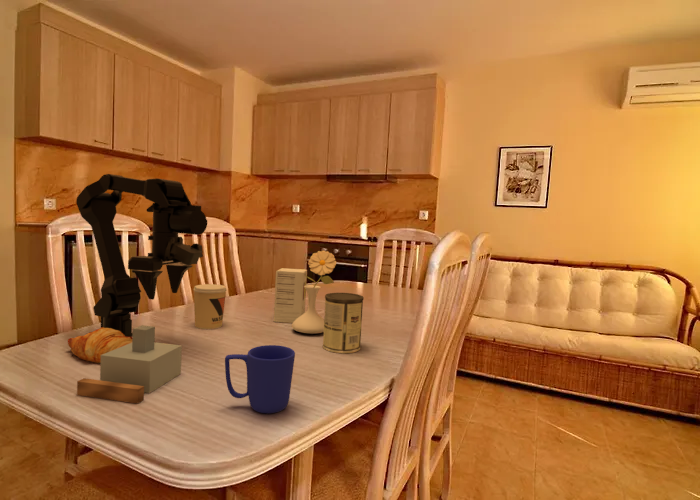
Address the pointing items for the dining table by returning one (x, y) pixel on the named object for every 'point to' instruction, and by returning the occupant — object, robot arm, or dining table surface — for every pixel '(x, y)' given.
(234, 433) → the dining table surface
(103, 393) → the walnut strip
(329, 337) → the coffee can
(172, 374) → the cover
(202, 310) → the coffee cup
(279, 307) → the supplement box
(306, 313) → the flower in vase
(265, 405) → the mug
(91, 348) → the croissant
